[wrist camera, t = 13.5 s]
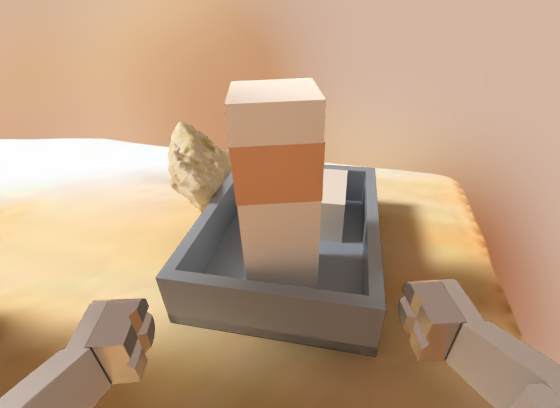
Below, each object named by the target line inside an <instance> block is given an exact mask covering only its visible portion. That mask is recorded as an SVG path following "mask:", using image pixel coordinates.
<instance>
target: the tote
mask: <svg viewBox="0 0 560 408" xmlns="http://www.w3.org/2000/svg"><path fill="white" fill-rule="evenodd" d="M324 169H335V170H348V173H347V186H346V200H345V212H344V223H343V234H342V243H337V242H328V241H320V243H319V266H318V289H315V288H307V287H300V286H292V285H285V284H277V283H270V282H262V281H255V280H248V279H246V274H245V266H244V258H243V250H242V242H241V234H240V226H239V218H238V210H237V206H236V201H235V193H234V185H233V178H232V172H231V173H230V174H229V176H228V177H227V179H226V180H225V181H224V183H223V184H222V186H221V187H220V188H219V190H218V191H217V193H216V194H215V195H214V197H213V198H212V200H211V201H210V202H209V204H208V205H207V207H206V208H205V209H204V211H203V212H202V214H201V215H200V216H199V218H198V219H197V220H196V222H195V223H194V225H193V226H192V227H191V229H190V230H189V232H188V233H187V234H186V236H185V237H184V239H183V240H182V241H181V243H180V244H179V246H178V247H177V248H176V250H175V251H174V253H173V254H172V255H171V257H170V258H169V260H168V261H167V262H166V264H165V265H164V267H163V268H162V269H161V271H160V272H159V274H158V275H157V276H156V281H157V284H158V287H159V290H160V293H161V296H162V299H163V302H164V304H165V307H166V310H167V313H168V316H169V319H170V322H173V323H178V324H184V325H190V326H196V327H202V328H208V329H214V330H220V331H226V332H232V333H238V334H244V335H250V336H256V337H262V338H268V339H274V340H280V341H286V342H292V343H298V344H304V345H310V346H316V347H322V348H328V349H334V350H340V351H345V352H351V353H357V354H363V355H369V356H375V357H376V354H377V349H378V345H379V340H380V336H381V331H382V327H383V322H384V318H385V313H386V303H385V290H384V277H383V265H382V252H381V239H380V227H379V214H378V202H377V189H376V176H375V168H367V167H351V166H335V165H324Z"/></svg>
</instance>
